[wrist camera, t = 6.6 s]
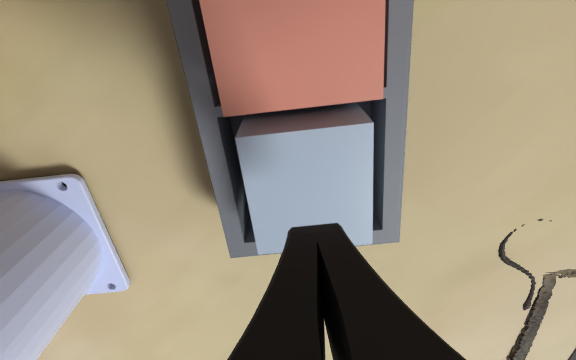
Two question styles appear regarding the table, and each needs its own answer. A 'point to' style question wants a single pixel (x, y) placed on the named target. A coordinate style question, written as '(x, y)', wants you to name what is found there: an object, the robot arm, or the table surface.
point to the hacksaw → (538, 305)
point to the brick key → (295, 52)
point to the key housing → (223, 130)
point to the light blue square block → (308, 171)
